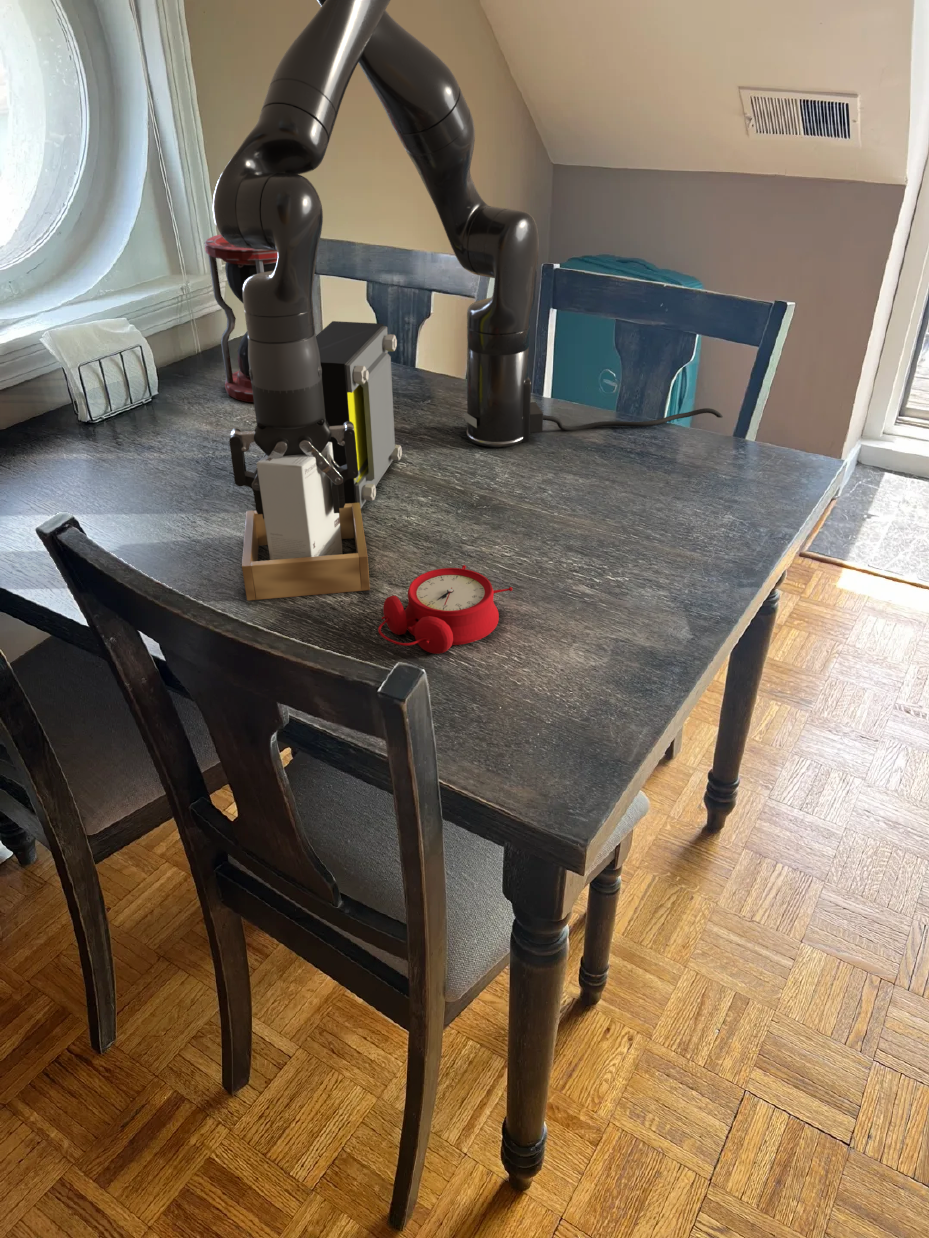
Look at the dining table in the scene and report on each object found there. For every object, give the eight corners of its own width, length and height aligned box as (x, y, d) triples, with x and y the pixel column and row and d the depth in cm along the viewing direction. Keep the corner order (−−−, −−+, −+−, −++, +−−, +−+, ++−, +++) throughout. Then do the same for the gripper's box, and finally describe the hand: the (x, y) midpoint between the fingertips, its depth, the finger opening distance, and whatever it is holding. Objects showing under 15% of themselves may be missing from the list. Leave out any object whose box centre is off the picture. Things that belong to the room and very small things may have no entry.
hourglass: (224, 377, 172) (203, 231, 158) (313, 370, 175) (299, 226, 162) (227, 407, 159) (204, 252, 145) (323, 399, 162) (309, 246, 148)
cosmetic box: (315, 586, 110) (303, 468, 102) (269, 578, 111) (253, 461, 103) (344, 553, 116) (335, 439, 108) (300, 546, 118) (287, 434, 110)
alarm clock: (525, 586, 102) (430, 614, 92) (516, 638, 105) (421, 671, 94) (456, 554, 108) (359, 577, 98) (448, 604, 111) (352, 631, 100)
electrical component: (371, 512, 126) (361, 364, 115) (299, 506, 128) (282, 360, 117) (404, 460, 140) (398, 324, 129) (339, 455, 142) (327, 321, 131)
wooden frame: (361, 534, 121) (359, 502, 118) (370, 590, 109) (367, 556, 107) (250, 542, 119) (246, 510, 116) (247, 600, 107) (241, 566, 105)
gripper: (351, 361, 105) (360, 495, 114) (220, 368, 103) (240, 503, 112) (355, 384, 99) (364, 523, 108) (216, 391, 97) (237, 532, 106)
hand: (301, 513), depth 110 cm, fingers closed on cosmetic box, 7 cm apart
